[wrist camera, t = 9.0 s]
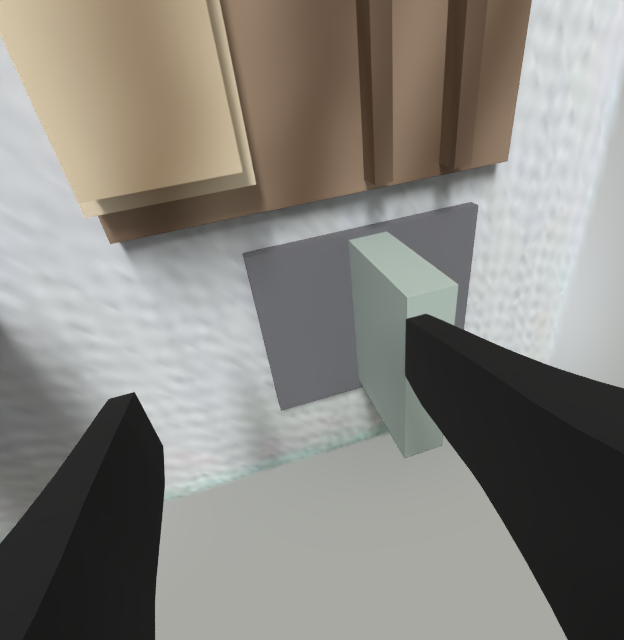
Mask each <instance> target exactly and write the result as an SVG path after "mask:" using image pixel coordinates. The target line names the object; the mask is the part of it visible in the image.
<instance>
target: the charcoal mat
mask: <svg viewBox="0 0 624 640" xmlns="http://www.w3.org/2000/svg"><path fill="white" fill-rule="evenodd" d="M477 212H478V205H477V204H474V203H472V202H470V203H465V204H461V205H457V206H452V207H448V208H443V209H439V210H434V211H430V212H425V213H421V214H416V215H412V216H407V217H403V218H398V219H394V220H390V221H385V222H381V223H376V224H372V225H367V226H363V227H358V228H354V229H349V230H345V231H340V232H336V233H332V234H327V235H323V236H318V237H314V238H309V239H305V240H300V241H296V242H291V243H287V244H282V245H278V246H273V247H269V248H265V249H260V250H256V251H251V252H247V253H243V257H244V261H245V265H246V269H247V273H248V277H249V281H250V285H251V290H252V294H253V298H254V302H255V306H256V310H257V314H258V318H259V323H260V327H261V331H262V335H263V339H264V343H265V347H266V351H267V356H268V360H269V364H270V368H271V372H272V376H273V380H274V384H275V389H276V393H277V397H278V401H279V405H280V408H281V411H282V410H285V409H289V408H292V407H295V406H299V405H302V404H306V403H309V402H312V401H316V400H319V399H323V398H326V397H329V396H333V395H336V394H340V393H343V392H346V391H350V390H353V389H357V388H360V387H363V386H362V384H361V382H360V380H359V376H358V363H357V349H356V335H355V322H354V308H353V295H352V281H351V268H350V254H349V240H352V239H356V238H360V237H365V236H369V235H374V234H378V233H382V232H389V233H390V234H391V235H393V236H394V237H395V238H397V239H398V240H399V241H401V242H402V243H403V244H405V245H406V246H407V247H409V248H410V249H411V250H413V251H414V252H415V253H417V254H418V255H419V256H421V257H422V258H423V259H425V260H426V261H428V262H429V263H430V264H432V265H433V266H434V267H436V268H437V269H438V270H440V271H441V272H442V273H444V274H445V275H446V276H448V277H449V278H450V279H452V280H453V281H454V282H456V283H457V284H458V294H457V304H456V313H455V323H454V326H456V327H458V328H461V329H463V330H464V322H465V314H466V306H467V297H468V289H469V280H470V272H471V263H472V255H473V246H474V238H475V229H476V221H477Z"/></svg>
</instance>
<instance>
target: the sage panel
mask: <svg viewBox="0 0 624 640" xmlns="http://www.w3.org/2000/svg"><path fill="white" fill-rule="evenodd" d="M349 254H350V268H351V281H352V295H353V308H354V322H355V335H356V349H357V363H358V376H359V380H360V382H361V384H362V386H363V387H364V389H365V391H366V393H367V394H368V396H369V398H370V399H371V401H372V403H373V405H374V406H375V408H376V410H377V412H378V413H379V415H380V417H381V418H382V420H383V422H384V424H385V425H386V427H387V429H388V431H389V432H390V434H391V436H392V438H393V439H394V441H395V443H396V444H397V446H398V448H399V450H400V451H401V453H402V455H403V457H404V458H406V457H410V456H413V455H415V454H419V453H422V452H425V451H428V450H430V449H434V448H437V447H440V446H442V440H443V433H442V432H441V431H440V429H439V428H438V427H437V425H436V424H435V423H434V421H433V420H432V419H431V417H430V416H429V415H428V413H427V412H426V410H425V409H424V408H423V406H422V405H421V403H420V401H419V400H418V398H417V396H416V395H415V393H414V391H413V389H412V387H411V386H410V384H409V382H408V380H407V378H406V376H405V332H406V319H408V318H411V317H415V316H419V315H422V314H429V315H431V316H434V317H436V318H438V319H441V320H443V321H445V322H447V323H450V324H452V325H454V323H455V313H456V304H457V294H458V284H457V283H456V282H454V281H453V280H452V279H450V278H449V277H448V276H446V275H445V274H444V273H442V272H441V271H440V270H438V269H437V268H436V267H434V266H433V265H432V264H430V263H429V262H428V261H426V260H425V259H423V258H422V257H421V256H419V255H418V254H417V253H415V252H414V251H413V250H411V249H410V248H409V247H407V246H406V245H405V244H403V243H402V242H401V241H399V240H398V239H397V238H395V237H394V236H393V235H391V234H390V233H389V232H382V233H378V234H374V235H369V236H365V237H360V238H356V239H352V240H349Z"/></svg>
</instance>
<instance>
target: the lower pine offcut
mask: <svg viewBox="0 0 624 640" xmlns="http://www.w3.org/2000/svg"><path fill="white" fill-rule="evenodd" d="M206 3H207V8H208V13H209V17H210V22H211V27H212V31H213V36H214V41H215V45H216V50H217V55H218V59H219V64H220V69H221V73H222V78H223V83H224V87H225V92H226V96H227V101H228V106H229V110H230V115H231V120H232V124H233V129H234V134H235V138H236V143H237V148H238V152H239V157H240V162H241V166H242V171H243V172H242V173H236V174H231V175H226V176H220V177H215V178H210V179H205V180H199V181H194V182H189V183H184V184H178V185H173V186H168V187H163V188H157V189H152V190H147V191H142V192H136V193H131V194H126V195H121V196H115V197H110V198H105V199H99V200H94V201H89V202H84V203H79V201H78V199H77V197H76V195H75V192H74V190H73V188H72V186H71V184H70V182H69V179H68V177H67V175H66V173H65V171H64V169H63V167H62V164H61V162H60V160H59V158H58V156H57V154H56V151H55V149H54V147H53V145H52V143H51V141H50V138H49V136H48V134H47V132H46V130H45V128H44V125H43V123H42V121H41V119H40V117H39V115H38V112H37V110H36V108H35V106H34V104H33V102H32V99H31V97H30V95H29V93H28V91H27V89H26V86H25V84H24V82H23V80H22V78H21V76H20V73H19V71H18V69H17V67H16V65H15V63H14V60H13V58H12V56H11V54H10V52H9V50H8V48H7V45H6V43H5V41H4V39H3V37H2V35H1V32H0V36H1V38H2V40H3V42H4V45H5V47H6V49H7V51H8V53H9V55H10V57H11V60H12V62H13V64H14V66H15V68H16V70H17V73H18V75H19V77H20V79H21V81H22V83H23V85H24V88H25V90H26V92H27V94H28V96H29V98H30V101H31V103H32V105H33V107H34V109H35V111H36V114H37V116H38V118H39V120H40V122H41V124H42V126H43V129H44V131H45V133H46V135H47V137H48V139H49V142H50V144H51V146H52V148H53V150H54V152H55V154H56V157H57V159H58V161H59V163H60V165H61V167H62V170H63V172H64V174H65V176H66V178H67V180H68V182H69V185H70V187H71V189H72V191H73V193H74V195H75V198H76V200H77V202H78V204H79V206H80V208H81V210H82V213H83V215H84V217H85V218H88V217H93V216H98V215H104V214H109V213H114V212H119V211H124V210H129V209H134V208H139V207H144V206H149V205H154V204H160V203H165V202H170V201H175V200H180V199H185V198H190V197H195V196H200V195H205V194H210V193H216V192H221V191H226V190H231V189H236V188H241V187H246V186H251V185H256V181H255V176H254V171H253V166H252V161H251V156H250V151H249V146H248V141H247V136H246V131H245V126H244V121H243V116H242V111H241V106H240V101H239V96H238V91H237V86H236V81H235V76H234V71H233V66H232V61H231V56H230V51H229V46H228V41H227V36H226V31H225V26H224V21H223V16H222V11H221V6H220V1H219V0H206Z"/></svg>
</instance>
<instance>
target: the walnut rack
mask: <svg viewBox="0 0 624 640" xmlns="http://www.w3.org/2000/svg"><path fill="white" fill-rule="evenodd" d="M219 1H220V6H221V11H222V16H223V21H224V26H225V31H226V36H227V41H228V46H229V51H230V56H231V61H232V66H233V71H234V76H235V81H236V86H237V91H238V96H239V101H240V106H241V111H242V116H243V121H244V126H245V131H246V136H247V141H248V146H249V151H250V156H251V161H252V166H253V171H254V176H255V181H256V185H251V186H246V187H241V188H236V189H231V190H226V191H221V192H216V193H210V194H205V195H200V196H195V197H190V198H185V199H180V200H175V201H170V202H165V203H160V204H154V205H149V206H144V207H139V208H134V209H129V210H124V211H119V212H114V213H109V214H104V215H98V217H99V219H100V222H101V224H102V226H103V228H104V231H105V233H106V235H107V237H108V240H109V242H110V244H113V243H117V242H122V241H127V240H132V239H137V238H141V237H146V236H151V235H156V234H160V233H165V232H170V231H175V230H180V229H184V228H189V227H194V226H199V225H204V224H208V223H213V222H218V221H223V220H228V219H232V218H237V217H242V216H247V215H252V214H256V213H261V212H266V211H271V210H276V209H280V208H285V207H290V206H295V205H300V204H304V203H309V202H314V201H319V200H324V199H328V198H333V197H338V196H343V195H348V194H352V193H357V192H362V191H367V190H372V189H376V188H381V187H386V186H391V185H396V184H400V183H405V182H410V181H415V180H419V179H424V178H429V177H434V176H439V175H443V174H448V173H453V172H458V171H463V170H467V169H472V168H477V167H482V166H487V165H491V164H496V163H501V162H506V161H508V154H509V147H510V141H511V134H512V128H513V121H514V114H515V108H516V101H517V94H518V88H519V81H520V75H521V68H522V61H523V55H524V48H525V41H526V35H527V28H528V22H529V15H530V8H531V2H532V0H219Z"/></svg>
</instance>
